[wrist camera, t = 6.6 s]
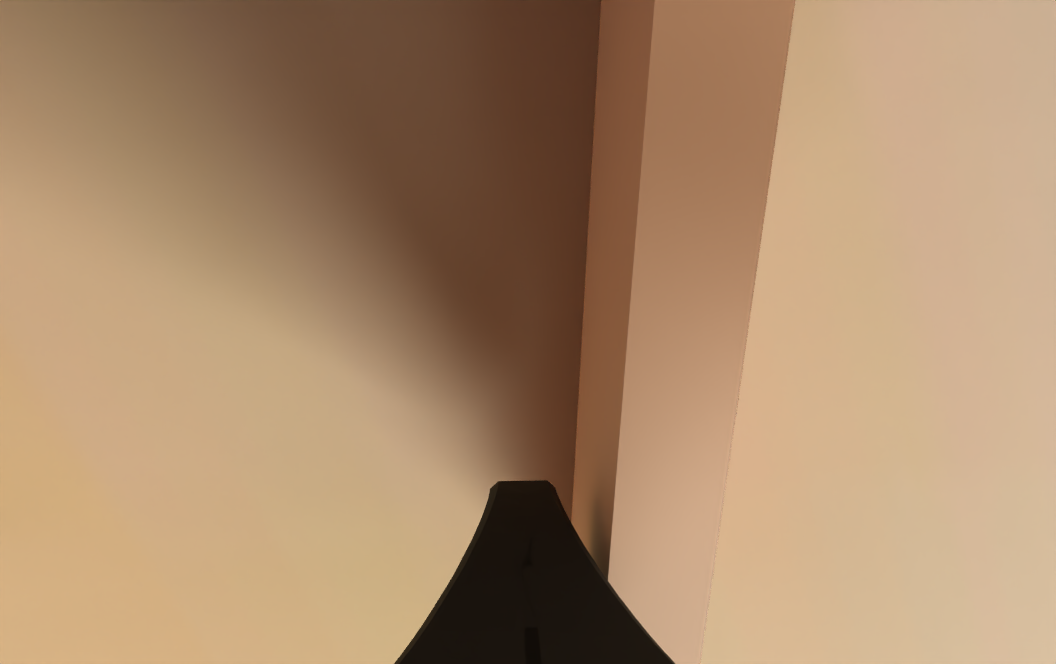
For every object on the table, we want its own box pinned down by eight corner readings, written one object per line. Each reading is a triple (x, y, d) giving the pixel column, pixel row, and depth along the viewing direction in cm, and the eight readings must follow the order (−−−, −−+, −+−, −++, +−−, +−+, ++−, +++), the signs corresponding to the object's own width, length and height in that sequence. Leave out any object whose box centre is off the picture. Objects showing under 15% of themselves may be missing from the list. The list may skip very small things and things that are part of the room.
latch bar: (652, 598, 14) (713, 838, 10) (543, 597, 14) (559, 839, 10) (783, -604, 8) (1065, -1235, 4) (596, -614, 8) (689, -1270, 4)
